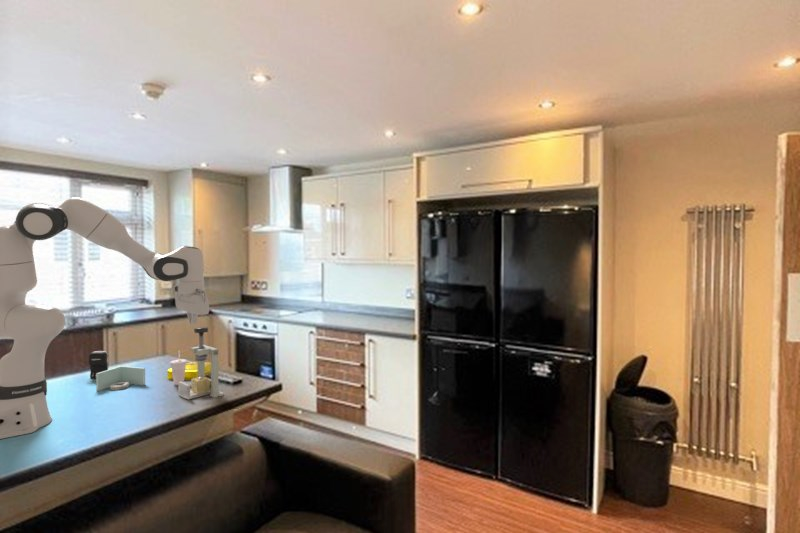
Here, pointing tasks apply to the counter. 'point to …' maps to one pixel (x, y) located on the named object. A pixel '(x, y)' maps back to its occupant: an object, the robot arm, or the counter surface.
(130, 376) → the l-shaped corner panel
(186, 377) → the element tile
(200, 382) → the tan wooden cube
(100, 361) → the black backpack
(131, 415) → the counter surface
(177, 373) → the smoothie
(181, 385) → the bed
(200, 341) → the ram
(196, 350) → the press frame
